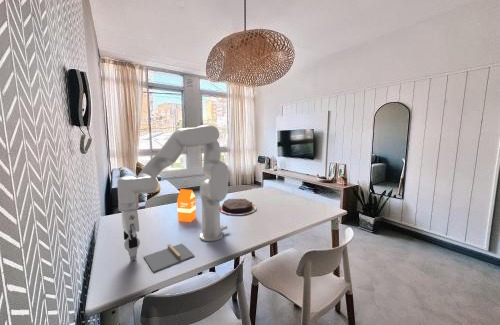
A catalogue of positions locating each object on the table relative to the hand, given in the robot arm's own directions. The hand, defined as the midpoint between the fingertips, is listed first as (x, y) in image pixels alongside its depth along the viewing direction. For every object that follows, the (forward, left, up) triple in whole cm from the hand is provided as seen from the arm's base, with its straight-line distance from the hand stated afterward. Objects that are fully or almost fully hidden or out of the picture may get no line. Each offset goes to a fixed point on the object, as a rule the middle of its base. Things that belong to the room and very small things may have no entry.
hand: (130, 243), depth 95 cm
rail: (-16, +7, -8) cm, 20 cm away
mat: (-14, +8, -8) cm, 18 cm away
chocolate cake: (-76, -22, -9) cm, 79 cm away
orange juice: (-39, -28, -9) cm, 48 cm away
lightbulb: (-1, 0, -9) cm, 9 cm away
